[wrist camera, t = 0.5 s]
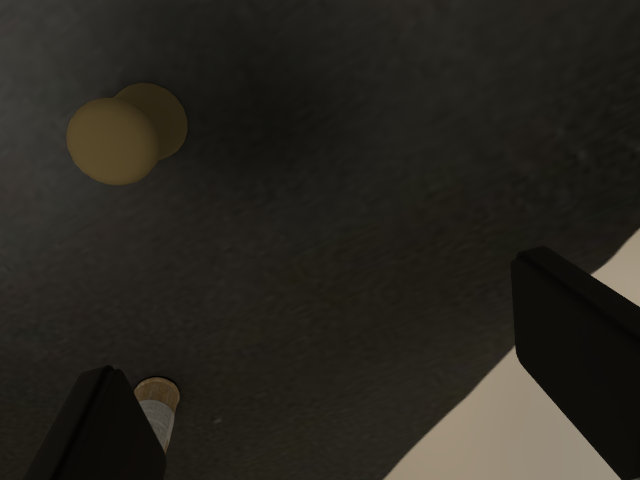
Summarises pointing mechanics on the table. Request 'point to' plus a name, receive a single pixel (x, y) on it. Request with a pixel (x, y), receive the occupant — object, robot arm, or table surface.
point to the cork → (126, 133)
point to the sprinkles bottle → (159, 406)
